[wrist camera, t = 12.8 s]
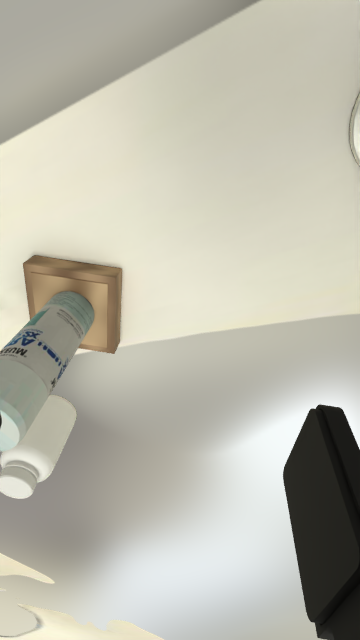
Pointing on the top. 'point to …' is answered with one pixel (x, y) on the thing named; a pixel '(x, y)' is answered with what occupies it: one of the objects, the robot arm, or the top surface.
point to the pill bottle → (37, 448)
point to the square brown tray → (87, 281)
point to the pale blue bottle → (39, 361)
